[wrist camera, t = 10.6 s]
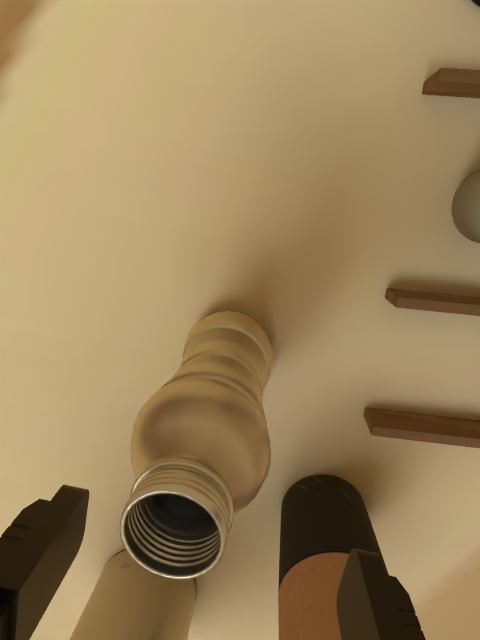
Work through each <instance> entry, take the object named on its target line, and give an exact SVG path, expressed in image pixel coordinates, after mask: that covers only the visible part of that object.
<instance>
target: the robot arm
mask: <svg viewBox="0 0 480 640" xmlns="http://www.w3.org/2000/svg"><path fill="white" fill-rule="evenodd" d="M88 500H89V490H87V489H82V488H77V487H73V486H68V485H63V486H62V487H61V488H60V489H59V490H58V492H57V493H56V494H55V496H54V497H53V498H52V500H51V501H48V500H43V499H39V500H37V501H36V502H34V503H32V504H31V505H29V506H28V507H26V508H24V509H23V510H22V511H21V512H20V514H19V515H18V516H17V517H16V518H15V520H14V521H13V522H12V524H11V526H9V527H8V528H7V529H6V531H5V532H4V533H3V534H2V537H1V538H0V640H29V639H30V637H31V636H32V634H33V632H34V630H35V629H36V627H37V625H38V623H39V621H40V620H41V618H42V616H43V614H44V612H45V611H46V609H47V607H48V605H49V603H50V602H51V600H52V598H53V596H54V595H55V593H56V591H57V589H58V587H59V586H60V584H61V582H62V580H63V578H64V577H65V575H66V573H67V571H68V570H69V568H70V566H71V564H72V562H73V561H74V559H75V557H76V555H77V553H78V551H79V549H80V546H81V543H82V540H83V536H84V531H85V523H86V516H87V508H88ZM195 598H196V588H195V582H194V580H193V579H188V580H174V579H167V578H163V577H160V576H157V575H155V574H153V573H151V572H149V571H147V570H146V569H144V568H142V567H141V566H140V565H139V564H138V563H136V562H135V561H134V560H133V559H132V557H131V556H130V555H129V553H128V552H127V550H126V551H123V552H120V553H119V554H117V555H115V556H114V557H112V558H111V560H110V561H109V562H108V563H107V564H106V566H105V568H104V569H103V571H102V573H101V576H100V578H99V580H98V582H97V584H96V586H95V588H94V590H93V592H92V594H91V596H90V599H89V601H88V603H87V604H86V606H85V609H84V611H83V613H82V615H81V617H80V619H79V621H78V623H77V625H76V627H75V629H74V632H73V634H72V636H71V638H70V640H187V637H188V633H189V628H190V623H191V618H192V613H193V609H194V604H195ZM336 607H337V616H338V622H339V628H340V633H341V639H342V640H426V639H425V637H424V634H423V631H421V626H420V623H419V621H418V618H417V616H415V610H414V607H413V605H412V602H411V599H410V596H409V594H408V593H407V591H406V590H405V589H404V587H403V586H402V585H401V583H400V582H399V581H398V579H397V578H396V577H393V576H389V575H386V572H385V569H384V566H383V563H382V560H381V557H380V555H379V554H378V553H374V552H369V551H364V550H360V549H355V548H353V549H352V550H351V551H350V554H349V557H348V560H347V563H346V566H345V569H344V572H343V575H342V578H341V581H340V584H339V588H338V592H337V602H336Z"/></svg>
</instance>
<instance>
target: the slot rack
mask: <svg viewBox="0 0 480 640" xmlns="http://www.w3.org/2000/svg"><path fill="white" fill-rule="evenodd" d="M422 94H427V95H441V96H455V97H469V98H480V71H479V70H465V69H450V68H441V69H439V70H438V71H437V72H436V73H435V74H433V75H432V76H431V77H430V78H429V79H428V80H426V81H425V82H424V86H423V92H422ZM385 298H386V299H387V300H388V301H389V302H390V303H391V304H393V305H394V306H395V307H397V308H407V309H417V310H427V311H437V312H446V313H456V314H466V315H476V316H480V298H475V297H465V296H455V295H445V294H435V293H425V292H415V291H405V290H394V289H387V290H386V296H385ZM364 418H365V420H366V423H367V425H368V428H369V430H370V432H371V435H373V436H382V437H390V438H399V439H407V440H415V441H424V442H432V443H440V444H449V445H457V446H465V447H474V448H480V421H474V420H465V419H457V418H448V417H440V416H431V415H422V414H414V413H405V412H396V411H388V410H379V409H371V408H365V411H364Z"/></svg>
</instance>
